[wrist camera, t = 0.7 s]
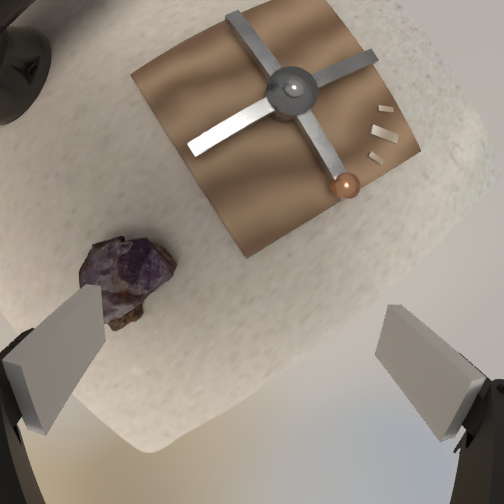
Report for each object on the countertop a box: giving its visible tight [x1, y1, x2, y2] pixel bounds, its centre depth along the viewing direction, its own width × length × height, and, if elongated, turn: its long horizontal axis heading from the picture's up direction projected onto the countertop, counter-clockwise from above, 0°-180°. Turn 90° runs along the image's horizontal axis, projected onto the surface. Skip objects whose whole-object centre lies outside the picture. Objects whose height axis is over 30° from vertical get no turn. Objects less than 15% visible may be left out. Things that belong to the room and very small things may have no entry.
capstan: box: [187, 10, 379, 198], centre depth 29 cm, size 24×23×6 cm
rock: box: [79, 236, 177, 331], centre depth 33 cm, size 12×9×10 cm
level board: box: [131, 0, 421, 259], centre depth 33 cm, size 26×26×2 cm
